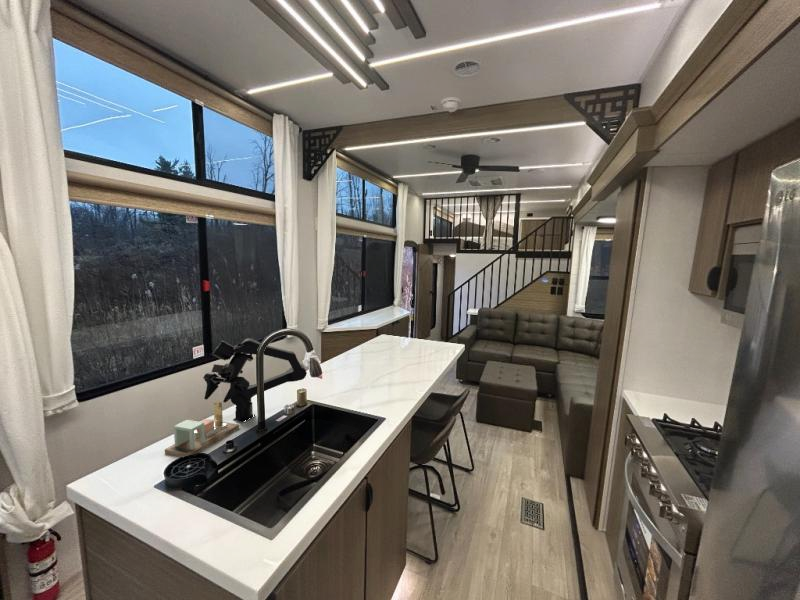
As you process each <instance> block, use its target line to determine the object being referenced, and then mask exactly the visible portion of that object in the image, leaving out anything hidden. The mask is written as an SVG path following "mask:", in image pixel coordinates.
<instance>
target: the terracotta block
mask: <svg viewBox="0 0 800 600" xmlns="http://www.w3.org/2000/svg"><path fill="white" fill-rule="evenodd" d="M200 422H203V423H204V432H205V433H207V432H208V431H210V430H212V429H214V419H208V418H205V419H203V420H201V421H200ZM196 430H197V432H200V428H198V429H196Z"/></svg>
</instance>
